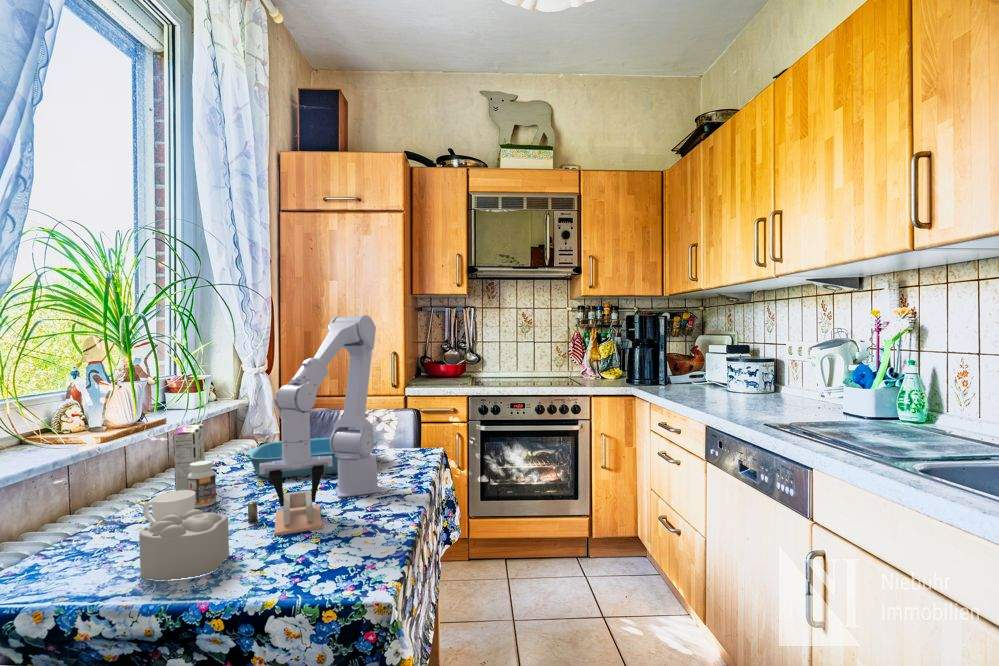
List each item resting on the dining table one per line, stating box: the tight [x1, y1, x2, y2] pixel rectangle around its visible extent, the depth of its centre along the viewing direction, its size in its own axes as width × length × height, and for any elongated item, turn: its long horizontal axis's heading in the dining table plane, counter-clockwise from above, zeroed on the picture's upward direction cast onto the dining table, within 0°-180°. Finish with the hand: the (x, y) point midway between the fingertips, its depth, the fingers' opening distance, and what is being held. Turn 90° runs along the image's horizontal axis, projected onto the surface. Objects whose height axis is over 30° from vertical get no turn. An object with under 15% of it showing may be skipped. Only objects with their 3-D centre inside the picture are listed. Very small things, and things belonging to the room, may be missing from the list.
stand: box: [247, 501, 259, 524], centre depth 109 cm, size 2×2×4 cm
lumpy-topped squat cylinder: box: [138, 508, 230, 580], centre depth 89 cm, size 10×13×9 cm
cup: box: [142, 490, 196, 524], centre depth 107 cm, size 8×10×7 cm
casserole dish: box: [244, 436, 378, 479], centre depth 152 cm, size 37×22×7 cm, turn 103°
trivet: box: [273, 503, 323, 537], centre depth 110 cm, size 9×14×1 cm, turn 22°
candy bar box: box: [172, 423, 206, 491], centre depth 131 cm, size 11×5×16 cm, turn 20°
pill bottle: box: [187, 460, 217, 509], centre depth 121 cm, size 6×6×10 cm
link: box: [282, 489, 314, 525], centre depth 110 cm, size 6×10×3 cm, turn 22°
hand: (297, 503), depth 110 cm, fingers closed on link, 6 cm apart
